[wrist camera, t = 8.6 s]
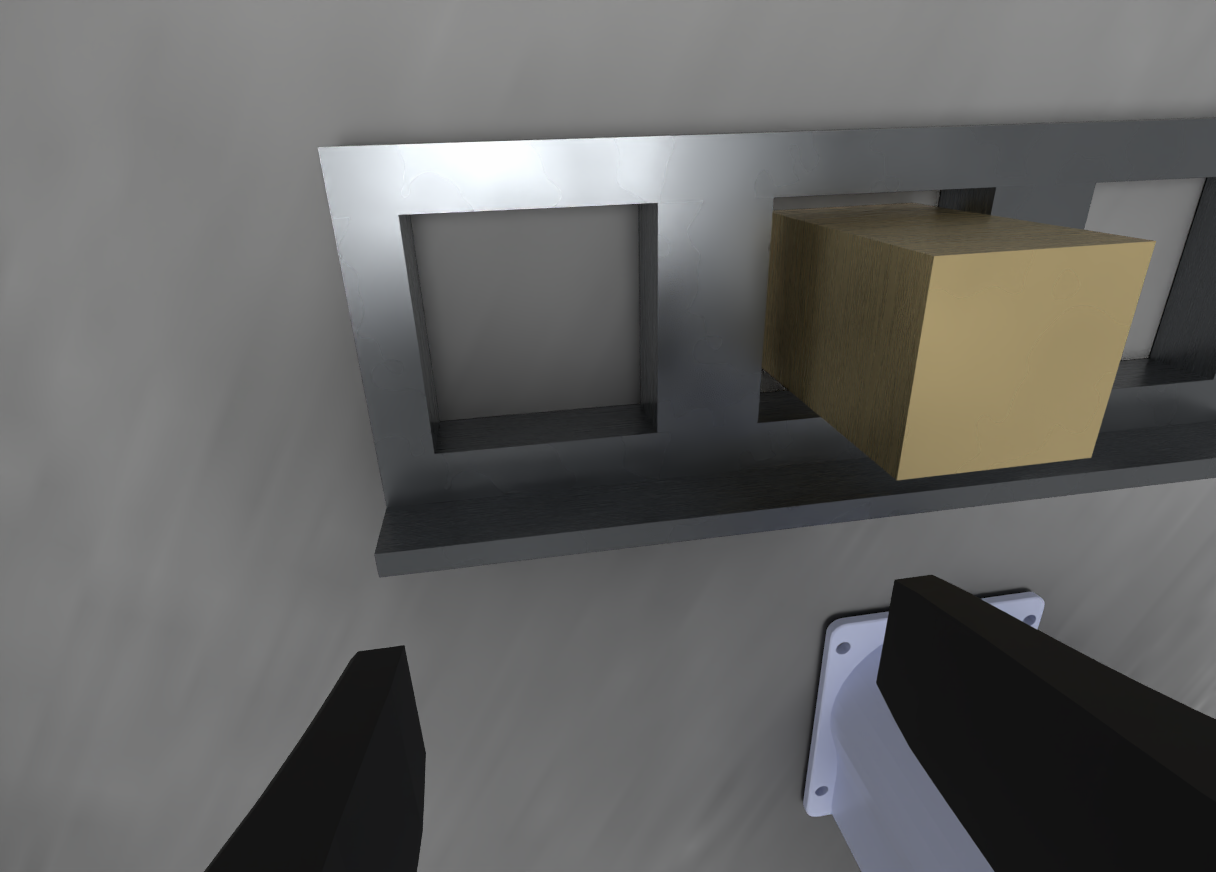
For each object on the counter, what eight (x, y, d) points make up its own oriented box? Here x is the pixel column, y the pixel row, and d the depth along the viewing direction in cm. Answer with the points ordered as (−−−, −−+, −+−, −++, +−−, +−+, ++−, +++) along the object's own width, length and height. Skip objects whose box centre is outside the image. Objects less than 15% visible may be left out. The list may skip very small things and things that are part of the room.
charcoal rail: (1166, 411, 21) (1303, 466, 18) (400, 490, 18) (379, 577, 15) (1268, 116, 18) (1465, 111, 14) (338, 145, 15) (290, 149, 11)
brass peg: (889, 351, 19) (1091, 457, 13) (755, 362, 18) (896, 480, 12) (912, 202, 17) (1155, 241, 11) (765, 210, 17) (934, 256, 10)
